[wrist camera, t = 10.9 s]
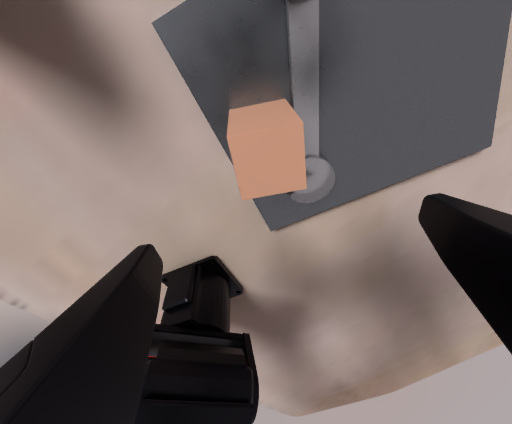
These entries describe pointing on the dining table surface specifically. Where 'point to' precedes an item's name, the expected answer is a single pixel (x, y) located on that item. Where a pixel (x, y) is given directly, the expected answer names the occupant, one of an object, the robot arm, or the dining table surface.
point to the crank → (307, 94)
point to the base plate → (353, 82)
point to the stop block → (267, 149)
